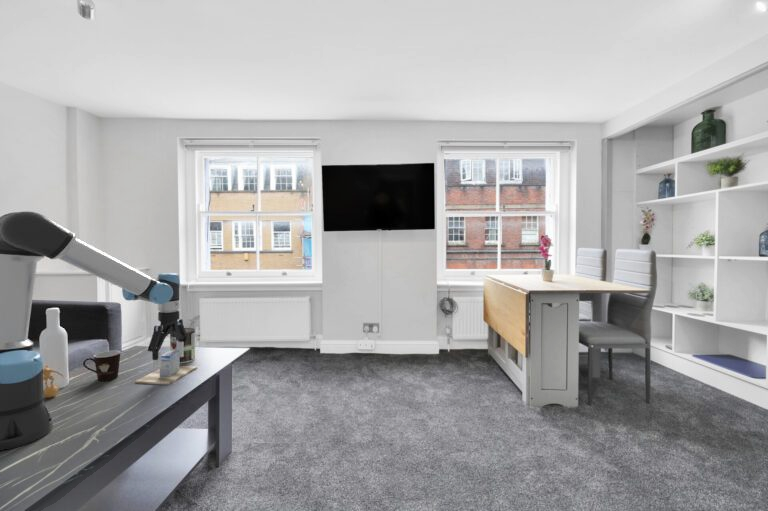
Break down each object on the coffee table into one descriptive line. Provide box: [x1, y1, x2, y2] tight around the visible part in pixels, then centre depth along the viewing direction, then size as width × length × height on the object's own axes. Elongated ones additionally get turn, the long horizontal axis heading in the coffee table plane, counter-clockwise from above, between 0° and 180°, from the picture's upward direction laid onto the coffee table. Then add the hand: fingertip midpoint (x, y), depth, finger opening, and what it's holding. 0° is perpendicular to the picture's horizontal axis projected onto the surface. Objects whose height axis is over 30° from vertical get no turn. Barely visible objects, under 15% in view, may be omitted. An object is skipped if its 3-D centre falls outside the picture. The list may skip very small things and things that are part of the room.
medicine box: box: [159, 350, 181, 377], centre depth 148 cm, size 8×4×9 cm, turn 5°
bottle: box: [38, 307, 70, 391], centre depth 136 cm, size 8×8×30 cm
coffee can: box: [169, 327, 196, 365], centre depth 167 cm, size 10×10×14 cm
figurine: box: [43, 365, 63, 399], centre depth 126 cm, size 8×6×12 cm
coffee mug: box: [82, 350, 121, 382], centre depth 145 cm, size 12×9×10 cm
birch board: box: [134, 365, 198, 386], centre depth 149 cm, size 18×14×1 cm
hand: (169, 361), depth 148 cm, fingers open, 13 cm apart
